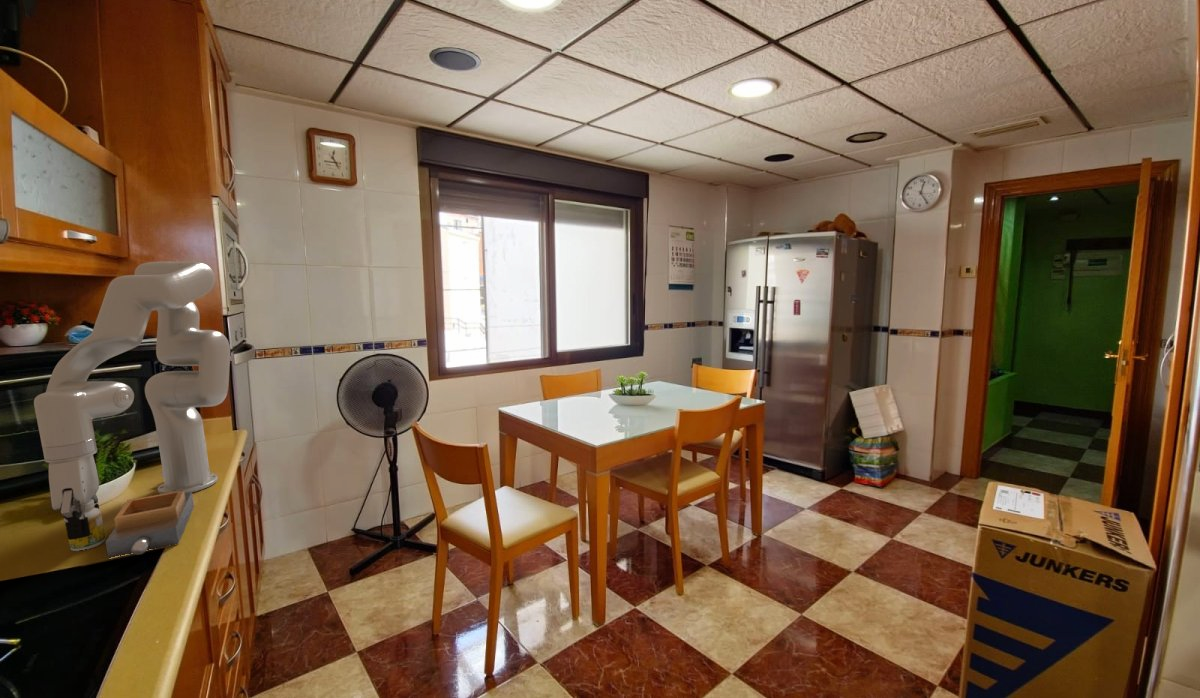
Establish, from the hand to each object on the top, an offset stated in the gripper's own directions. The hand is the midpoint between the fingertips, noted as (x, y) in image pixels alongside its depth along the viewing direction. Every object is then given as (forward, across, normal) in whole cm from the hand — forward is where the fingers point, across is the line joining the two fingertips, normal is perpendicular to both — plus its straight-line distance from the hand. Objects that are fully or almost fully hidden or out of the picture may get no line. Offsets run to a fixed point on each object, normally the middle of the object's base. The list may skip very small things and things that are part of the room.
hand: (85, 529), depth 106 cm
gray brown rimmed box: (+4, +1, +11) cm, 12 cm away
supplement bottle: (+4, 0, 0) cm, 4 cm away
